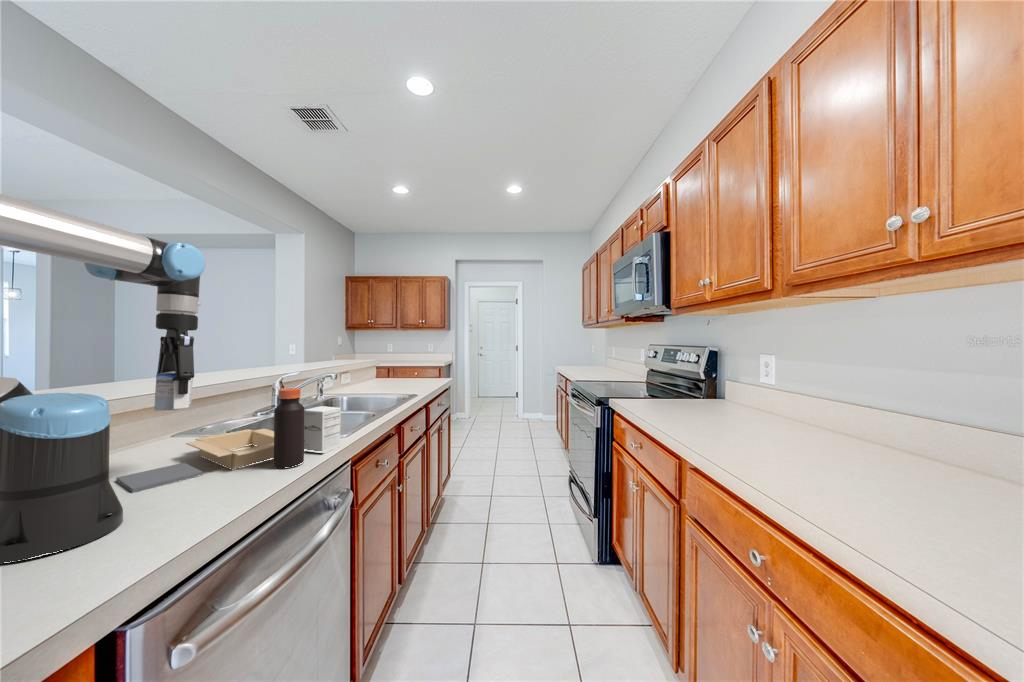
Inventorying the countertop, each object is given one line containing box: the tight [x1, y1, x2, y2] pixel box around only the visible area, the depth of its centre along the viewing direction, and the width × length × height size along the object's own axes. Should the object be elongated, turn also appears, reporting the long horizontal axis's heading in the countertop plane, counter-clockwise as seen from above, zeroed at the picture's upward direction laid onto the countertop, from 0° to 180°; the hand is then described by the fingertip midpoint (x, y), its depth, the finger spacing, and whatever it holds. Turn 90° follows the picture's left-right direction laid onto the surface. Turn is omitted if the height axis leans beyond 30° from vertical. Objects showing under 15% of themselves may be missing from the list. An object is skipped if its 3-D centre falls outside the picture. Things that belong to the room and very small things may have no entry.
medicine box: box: [153, 372, 194, 412], centre depth 87 cm, size 8×4×9 cm, turn 24°
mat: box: [116, 462, 203, 493], centre depth 85 cm, size 12×12×1 cm
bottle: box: [273, 387, 305, 469], centre depth 95 cm, size 7×7×20 cm
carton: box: [185, 428, 274, 470], centre depth 102 cm, size 26×19×4 cm
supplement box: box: [304, 405, 342, 451], centre depth 108 cm, size 7×7×13 cm
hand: (173, 406), depth 87 cm, fingers closed on medicine box, 9 cm apart
